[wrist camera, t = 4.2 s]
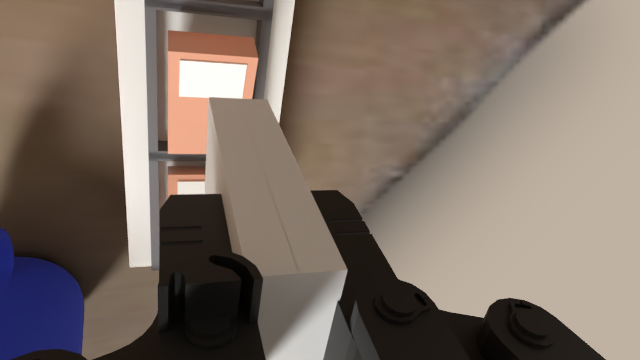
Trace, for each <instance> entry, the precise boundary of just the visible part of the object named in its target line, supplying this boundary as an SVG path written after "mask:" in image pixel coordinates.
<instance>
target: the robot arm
mask: <svg viewBox="0 0 640 360" xmlns="http://www.w3.org/2000/svg"><path fill="white" fill-rule="evenodd" d="M11 360H87V359H86V358H84V357H83V356H82V355H81V354H79V353H75V352H71V351H67V350H63V349H49V350H37V351H33V352H30V353H27V354H25V355H22V356H19V357H16V358H13V359H11ZM93 360H605V359H604V358H603V357H602V356H601V355H600V354H598V353H597V352H596V351H595V350H594V349H592V348H591V347H590V346H589V345H587V343H585V342H584V341H583V340H582V339H581V338H579V337H578V336H577V335H576V334H575V333H573V332H572V331H571V330H570V329H569V328H568V327H566V326H565V325H564V324H563V323H562V322H561V321H559V320H558V319H557V318H556V317H554V316H553V315H551V314H550V313H549V312H547V311H546V310H544V309H543V308H541V307H539V306H537V305H534V304H532V303H530V302H527V301H525V300H519V299H513V298H507V299H500V300H497V301H496V302H494V303H493V304H492V305H490V307H489V308H488V311H487V313H486V315H485V317H484V318H481V317H475V316H469V315H463V314H457V313H451V312H446V311H443V310H439V309H438V308H437V306H436V305H435V303H434V302H433V301H432V300H431V299H430V298H429V297H428V296H427V294H426V293H425V292H423V291H422V290H420V289H419V288H417V287H416V286H414V285H412V284H410V283H407V282H404V281H401V280H398V279H397V277H396V275H395V273H394V272H393V270H392V268H391V267H390V265H389V263H388V261H387V260H386V258H385V256H384V255H383V253H382V251H381V250H380V248H379V246H378V244H377V243H376V241H375V239H374V238H373V236H372V234H370V231H369V229H368V227H367V226H366V224H365V222H364V221H362V217H361V215H360V214H359V212H358V210H357V208H356V207H355V205H354V203H353V202H351V201H350V200H349V199H347V198H346V197H345V196H344V195H342V194H341V193H340V192H339V191H337V190H321V191H310V189H309V187H308V185H307V183H306V181H305V178H304V176H303V174H302V172H301V170H300V168H299V166H298V164H297V162H296V159H295V157H294V155H293V153H292V151H291V149H290V147H289V145H288V142H287V140H286V138H285V136H284V134H283V132H282V130H281V128H280V126H279V123H278V121H277V119H276V117H275V115H274V113H273V111H272V109H271V106H270V104H269V102H268V100H262V99H240V98H219V97H209V101H208V124H207V147H206V170H205V194H178V195H170V196H169V198H168V199H167V200H166V202H165V203H164V204H163V206H162V207H161V209H160V231H159V284H158V313H157V316H156V318H155V320H154V322H153V323H152V325H151V326H150V327H149V328H148V330H147V331H146V332H145V333H144V334H143V335H142V336H140V337H139V338H138V339H136V340H135V341H134V342H132V343H131V344H129V345H127V346H125V347H123V348H121V349H119V350H117V351H114V352H112V353H109V354H106V355H104V356H101V357H98V358H96V359H93Z"/></svg>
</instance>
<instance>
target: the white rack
mask: <svg viewBox="0 0 640 360" xmlns="http://www.w3.org/2000/svg"><path fill="white" fill-rule="evenodd" d="M114 1H115V19H116V36H117V54H118V71H119V89H120V106H121V124H122V141H123V159H124V176H125V193H126V211H127V228H128V246H129V263H130V267H144V266H151V270H159V231H160V209H161V207H162V206H163V204H164V203H165V202H166V200H167V199H168V166H206V154H168V132H167V129H168V30H172V31H183V32H195V33H206V34H218V35H229V36H241V37H252V38H254V42H255V46H256V50H257V54H258V64H257V70H256V77H255V83H254V90H253V96H252V99H262V100H268V102H269V104H270V106H271V109H272V111H273V113H274V115H275V117H276V119H277V121H278V123H279V121H280V113H281V105H282V97H283V90H284V82H285V74H286V66H287V59H288V51H289V43H290V35H291V28H292V20H293V12H294V4H295V0H114Z"/></svg>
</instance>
